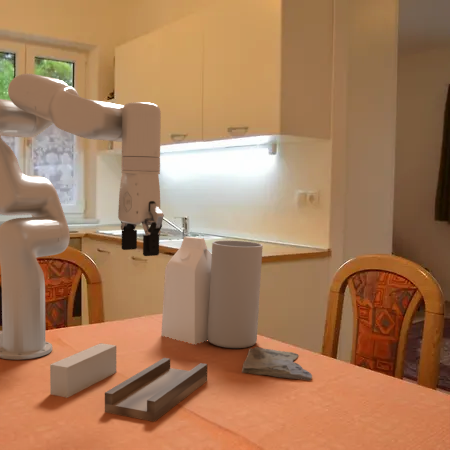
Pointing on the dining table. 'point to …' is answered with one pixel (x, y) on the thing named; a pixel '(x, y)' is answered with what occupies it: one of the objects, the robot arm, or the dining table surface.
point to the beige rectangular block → (82, 370)
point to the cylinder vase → (234, 293)
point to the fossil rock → (274, 364)
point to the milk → (187, 292)
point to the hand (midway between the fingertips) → (139, 252)
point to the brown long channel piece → (154, 390)
